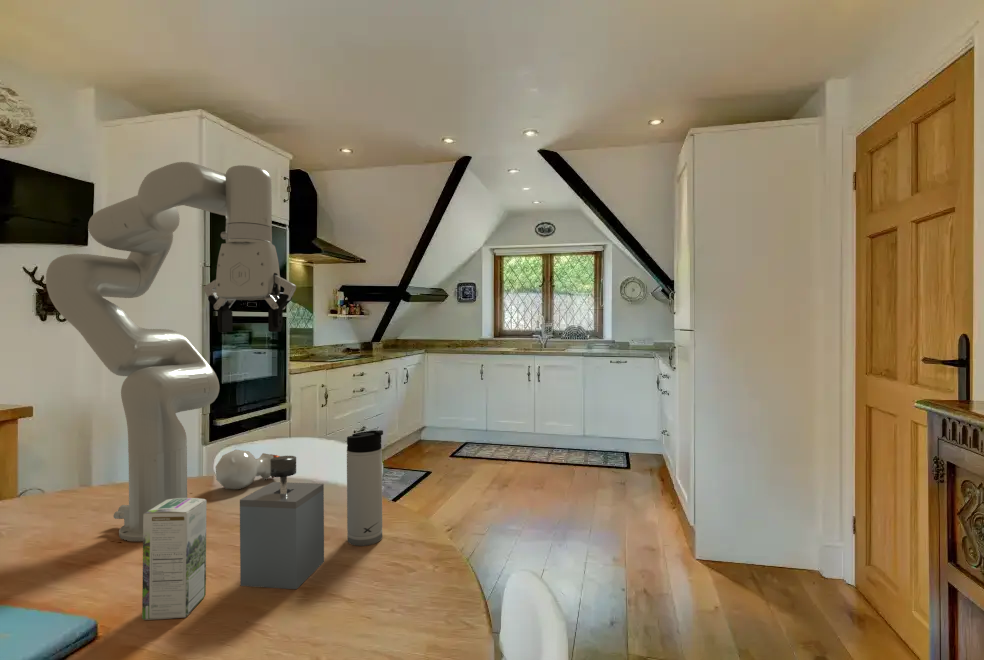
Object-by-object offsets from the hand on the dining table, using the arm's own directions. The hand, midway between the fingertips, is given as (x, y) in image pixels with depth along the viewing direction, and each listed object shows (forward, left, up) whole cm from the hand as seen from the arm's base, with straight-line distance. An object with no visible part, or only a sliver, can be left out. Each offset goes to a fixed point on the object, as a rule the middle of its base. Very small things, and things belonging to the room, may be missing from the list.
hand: (250, 331), depth 92 cm
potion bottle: (-22, +32, -39) cm, 55 cm away
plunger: (+12, -10, -35) cm, 38 cm away
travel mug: (+20, +4, -38) cm, 44 cm away
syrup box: (+2, -21, -38) cm, 44 cm away
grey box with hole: (+12, -10, -38) cm, 41 cm away
